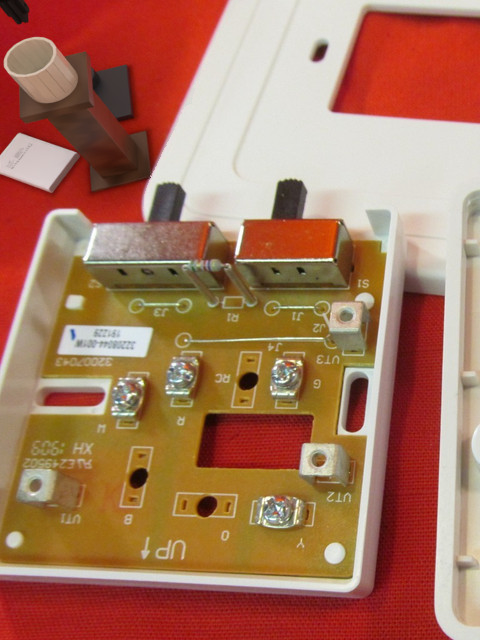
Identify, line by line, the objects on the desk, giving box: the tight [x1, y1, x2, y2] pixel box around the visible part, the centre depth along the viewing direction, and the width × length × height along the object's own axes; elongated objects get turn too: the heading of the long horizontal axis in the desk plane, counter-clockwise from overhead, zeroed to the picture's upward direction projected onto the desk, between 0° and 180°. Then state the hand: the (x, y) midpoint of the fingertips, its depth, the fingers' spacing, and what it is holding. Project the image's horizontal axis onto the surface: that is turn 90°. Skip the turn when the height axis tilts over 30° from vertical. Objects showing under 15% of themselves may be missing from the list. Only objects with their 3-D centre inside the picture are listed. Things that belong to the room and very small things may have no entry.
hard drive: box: [0, 132, 81, 194], centre depth 117 cm, size 2×8×12 cm
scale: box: [91, 64, 135, 123], centre depth 121 cm, size 11×13×3 cm
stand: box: [18, 50, 153, 193], centre depth 108 cm, size 10×10×18 cm
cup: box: [3, 36, 78, 103], centre depth 98 cm, size 7×7×5 cm
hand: (23, 17), depth 106 cm, fingers closed
